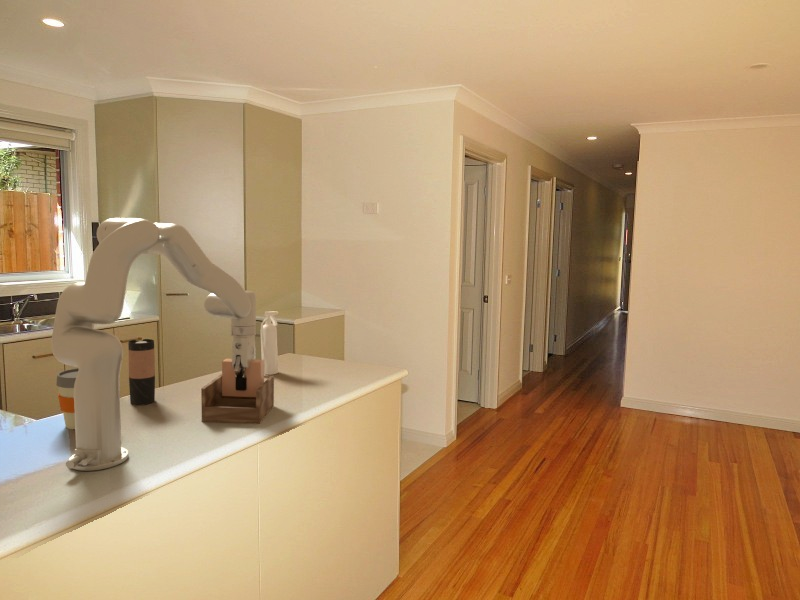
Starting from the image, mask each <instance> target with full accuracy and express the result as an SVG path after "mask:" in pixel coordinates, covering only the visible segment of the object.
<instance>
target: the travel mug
mask: <svg viewBox="0 0 800 600" xmlns="http://www.w3.org/2000/svg"><path fill="white" fill-rule="evenodd" d="M127 344H128V349H127V350H128V383H129V384H128V386H129V400H130V405H133V406H145V405H149V404H153V403H154V402H155V401H156V398H155V395H156V390H155V389H156V366H155V365H156V364H155V363H156V362H155V361H156V360H155V340H154V339H150V338H145V339H144V338H143V339H142V340H136V339H131V340H128V343H127Z"/></svg>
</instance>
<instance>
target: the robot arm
mask: <svg viewBox="0 0 800 600" xmlns="http://www.w3.org/2000/svg"><path fill="white" fill-rule="evenodd" d="M96 238H97V241H98V243H99V244H98V245H97V246H96V247H95V249H94V251H93V253H92V254H91V257H90V259H89V263H88V267H87V268H88V269H87V271H86V272H87V273H86V277H85V281H79V282H75V283H71V284H69V285H68V286H67V287H65V288H64V289H63V291H62V292H61V293H60V295H59V297H58V300H57V304H56V309H55V313H54V314H55V316H54V322H53V327H52V328H53V329H52V334H51V344H50V346H51V352H52V354H53V357H54V358H55V359H56V361H58V362H60V363H61V364H63V365H66V366H70V367H74V368H79V371H78V375H77V377H76V380H75V384H74V409H75V431H74V432H75V433H74V434H75V449H74V454H72V455H71V456H70V457H69V458H68V460H67V461H66V462H65V466H66V468H67V469H71V470H72V469H73V470H75V471H84V472H85V471H86V472H89V471H99V470H105V469H110V468H113V467H116V466H117V465H120V464H122V463H124V462H125V461H126V460H127V459H128V458H129V450H128V449H126V447H122V430H121V429H122V428H121V427H122V425H121V420H122V419H121V394H120V393H121V391H120V388H121V387H120V384H121V383H120V382H121V381H120V379H121V378H120V377H121V368H122V363H123V357H124V347H123V343H122V341H120V339H119V338H118V336H116V335H115V334H113V333H111V332H109V331H106V330H101V329H96V328H95V324H96V325H97V324H98V325H111V324H113V323H115V322H117V321H119V319H120V317H121V316H122V312H123V309H124V305H125V304H124V303H125V296H126V290H127V283H128V277H129V273H130V271H131V270H130V269H131V268H132V267H131V266H132V265H133V263H134V262H135V261H136V260H137V258H139V257H140V256H141V255H144V254H145V255H146V254H149V255H151V254H152V255H163V256H164V257H166V259H167V260H168V261H169V262H170V263H171V264H172V266H173V267H174V269H176V271H177V272H178V273H179V274H180V276H181V277H182V278H183V279H184V281H186V282H188V284H191V285H193V286H195V287H198V288H200V289H202V290H205V291H208V292H209V294H208V295H206V297H205V299H204V302H203V307H204V310H205V311H206V312H207V313H208V314H209V315H211V316H214V317H217V318H227V319H230V337H232V348H231V350H232V351H231V352H232V353H231V359H232V366H233V368H235V370H234V371H235V374H236V375H235V377H236V390H243V391H245V390H246V378H245V373H246V369H248V368H249V367H250V362H252V361H253V360H254V359H256V360H257V356H256V355H257V353H256V351H257V349H256V338H255V336H256V334H257V333H256V331H257V322H256V321H257V300H256V299H257V295H256V293H255V292H254V291H252V290H245V289H244V287H242V284H240V283H239V282H238V280H236V279H235V278H234V277H233V276H232V275H230V274H229V273H227V271H225V270H223V269H222V268H221V267H220V266H217V265H216V264H215V263H213V262H212V261H211V260H210V259H209V258H208V257H207V255H206V253H204V251H203V250H202V249H201V247H200V245H199V244H198V243H197V242H196V240H195V239H194V238H193V236H192V235H191V233H190V232H189V231H188V230H187V229H186V228H185V227H184V226H182V225H181V224H178V223H169V222H168V223H167V222H166V223H165V222H153V221H151V220H149V219H147V218H146V219H145V218H139V217H138V218H137V217H127V218H125V217H121V218H120V217H114V218H113V217H112V218H108V219H105V220H103V221H102V222H100V224H99V226H98V227H97V229H96ZM235 362H236V365H235ZM240 366H243V367H244V368H240ZM240 370H243V372H242V371H240Z"/></svg>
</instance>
